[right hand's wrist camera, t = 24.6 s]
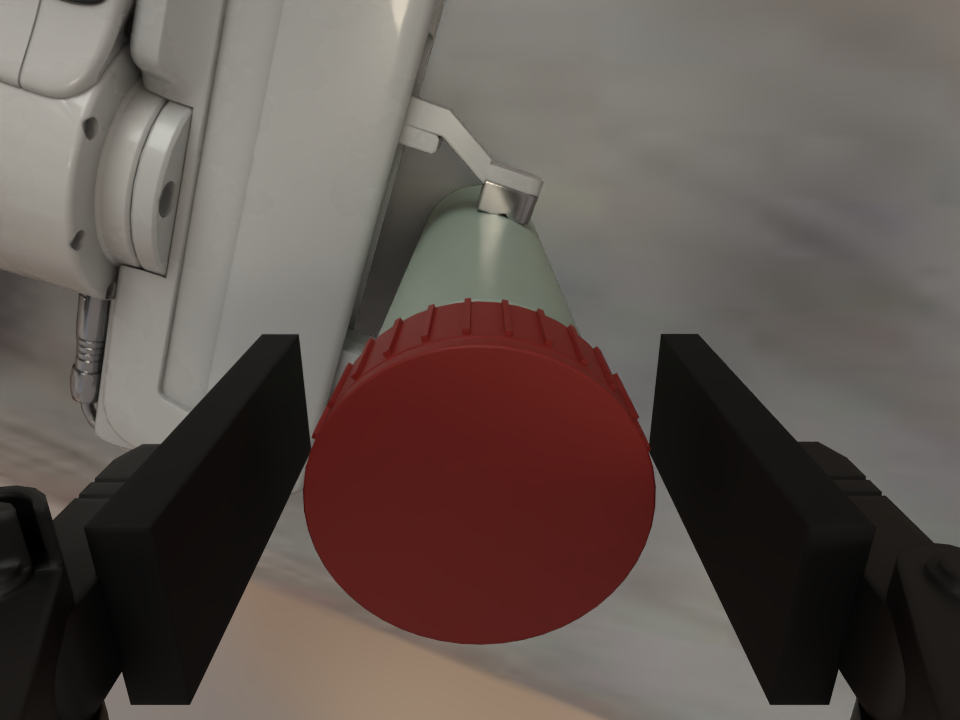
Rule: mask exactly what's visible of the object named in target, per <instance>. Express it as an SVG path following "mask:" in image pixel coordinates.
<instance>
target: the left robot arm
mask: <svg viewBox="0 0 960 720" xmlns="http://www.w3.org/2000/svg"><path fill="white" fill-rule="evenodd" d="M444 3H445V0H0V269H1V270H4V271H8V272H11V273H14V274H18V275H21V276H24V277H28V278H31V279H35V280H39V281H42V282H45V283H48V284H52V285H55V286H58V287H62V288H65V289H68V290H71V291H75V292H78V293H79V302H78V312H77V322H76V340H77V350H76V360H75V363H74V364H73V366H72V370H71V375H70V391H71V396H72V398H73V400H75V401H76V402H79V403H81V407H82V411H83V413H84V415H85V417H86V419H87V421H88V423H89V424H90V425H91V426H92V427H93V428H94V431H95V434H96V435H97V436H98V437H99V438H101V439H102V440H104V441H106V442H108V443H110V444H113V445H116V446H119V447H123V448H127V449H130V450H133V449H134V448H136V447H138V446H140V445H142V444H161V443H162V442H163V441H164V440H165V439H166V438H167V437H168V436H169V434H170V433H171V432H172V431H173V430H174V429H175V428H176V427H177V426H178V425H179V424H180V423H181V421H182V420H183V419H184V418H185V417H186V416H187V415H188V414H189V413H190V412H191V411H192V410H193V408H194V407H195V406H196V405H197V404H198V403H199V402H200V401H201V400H202V399H203V398H204V397H205V395H206V394H207V393H208V392H209V391H210V390H211V389H212V388H213V387H214V386H215V385H216V384H217V382H218V381H219V380H220V379H221V378H222V377H223V376H224V375H225V374H226V373H227V372H228V371H229V369H230V368H231V367H232V366H233V365H234V364H235V363H236V362H237V361H238V360H239V359H240V358H241V356H242V355H243V354H244V353H245V352H246V351H247V350H248V349H249V348H250V347H251V346H252V345H253V343H254V342H255V341H256V340H257V339H258V338H259V337H260V336H261V335H262V334H299V340H300V349H301V358H302V367H303V377H304V386H305V395H306V404H307V414H308V423H309V432H310V442H311V448H312V446H313V444H314V441H315V439H313V438H311V437H312V434H313V432H314V430H315V428H316V426H317V424H318V422H319V420H320V418H321V416H322V414H323V412H324V410H325V408H326V406H327V404H328V402H329V400H330V398H331V396H332V394H333V392H334V390H335V388H336V386H337V384H338V382H339V380H340V378H341V376H342V374H343V372H344V369H345V367H346V366H347V364H348V363H351V364H352V365H353V364H354V362H355V361H356V359H357V358H358V357H359V356H360V355H361V353H362V351H363V349H364V347H365V345H366V343H367V341H368V340H369V339H370V338H371V337H372V338H373V339H374V340H375V339H377V337H374V336H370V335H367V334H364V333H361V332H358V331H355V330H354V328H355V324H356V320H357V317H358V313H359V310H360V306H361V302H362V299H363V295H364V292H365V288H366V284H367V281H368V277H369V274H370V270H371V266H372V263H373V259H374V256H375V252H376V248H377V245H378V241H379V237H380V234H381V230H382V227H383V223H384V219H385V216H386V212H387V209H388V205H389V201H390V198H391V194H392V191H393V187H394V183H395V180H396V176H397V173H398V169H399V165H400V162H401V158H402V155H403V151H404V147H405V145H406V146H409V147H412V148H415V149H418V150H421V151H424V152H427V153H430V154H433V153H434V152H436V151H437V150H438V149H439V147H440V145H441V141H442V138H444V140H445V141H446V142H447V143H448V144H449V145H450V146H451V148H452V149H453V150H454V151H455V152H456V153H457V154H458V155H459V157H460V158H461V159H462V160H463V161H464V162H465V163H466V165H467V166H468V167H469V168H470V169H471V170H472V171H473V172H474V174H475V175H476V176H477V177H478V178H479V179H480V180H481V182H482V183H483V184H482V188H481V191H480V194H479V197H478V201H477V204H478V205H477V209H478V210H481V211H484V212H487V213H490V214H494V215H501V214H504V213H505V214H506V216H507V217H508V218H509V219H510V220H512V221H514V222H517V223H520V224H524V225H528V223H529V220H530V218H531V215H532V213H533V210H534V207H535V205H536V202H537V199H538V196H539V193H540V191H541V188H542V185H543V183H544V181H543V180H542V179H541V178H540V177H538V176H535V175H533V174H531V173H528V172H525V171H523V170H520V169H517V168H514V167H511V166H508V165H505V164H502V163H500V162H497V161H494V160H492V157H491V155H490V153H489V152H488V151H487V150H486V149H485V148H484V146H483V145H482V144H481V143H480V142H479V141H478V139H477V138H476V137H475V136H474V135H473V133H472V132H471V131H470V130H469V129H468V128H467V126H466V125H465V124H464V123H463V122H462V121H461V119H460V118H459V117H458V116H457V115H456V113H455V112H454V111H453V110H452V109H450V108H447V107H445V106H442V105H439V104H436V103H433V102H431V101H428V100H425V99H422V98H419V93H420V90H421V86H422V82H423V79H424V75H425V72H426V68H427V64H428V61H429V57H430V54H431V50H432V46H433V43H434V39H435V36H436V32H437V28H438V25H439V21H440V18H441V14H442V10H443V7H444ZM96 402H98V404H97V412H96V410H95V407H94V403H96ZM308 458H309V457H308ZM307 462H308V459H307V461H306V463H305V465H304V467H303V469H302V471H301V473H300V476H299V478H298V480H297V482H296V484H295V486H294V488H293V490H292V492H291V494H294V493H297V492H299V491H301V490H302V489H303V486H304V476H305V467H306V464H307ZM291 494H290V495H291Z"/></svg>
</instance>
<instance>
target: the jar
mask: <svg viewBox="0 0 960 720" xmlns="http://www.w3.org/2000/svg"><path fill="white" fill-rule="evenodd" d="M481 188H482V185H474V186H468V187H464V188H461V189H458V190H456V191H454V192H452V193H450V194H449V195H447V196H446V197H445V198H443V199H442V200H441V201H440V202H439V203H438V204H437V205H436V206H435V208H434V209H433V211H432V212H431V214H430V216H429V218H428V220H427V223H426V225H425V227H424V230H423V232H422V234H421V237H420V239H419V241H418V244H417V246H416V248H415V251H414V253H413V255H412V258H411V260H410V262H409V265H408V267H407V269H406V272H405V274H404V276H403V279H402V281H401V283H400V286H399V288H398V290H397V293H396V295H395V297H394V300H393V302H392V304H391V307H390V309H389V311H388V314H387V316H386V318H385V321H384V323H383V325H382V328H381V330H380V332H379V335H378V337H379V336H380V335H381V334H382V333H384V332H385V331H387V330H388V329H390V328H391V327H393V325H394V322H395V320H396V319H398V318H401V319H402V320H405V319H407V318H409V317H411V316H413V315H415V314H417V313H420V312H423V311H426V310H427V309H428V306H429V305H432V304H435V307H439V306H444V305H449V304H453V303H462V302H464V301H465V298H471V302H475V301H481V302H499V303H501V302H502V299H504V300H508V302H509V304H510V305H516V306H520V307H524V308H527V309H530V310H533V311H537V309H538V308H539V309H542V310H544V313H545V315H546V316H548V317H550V318H552V319H554V320H557V321H558V322H560V323H561V324H563V325H565V326H566V327H568V326H569V325H570V324H571V325H572V326H574V327H575V329H576V331H577V333H578V335H579V336H580V337H581V335H580V333H579V331H578V328H577V326H576V324H575V321H574V319H573V317H572V314H571V312H570V309H569V307H568V305H567V302H566V300H565V298H564V295H563V293H562V291H561V288H560V286H559V284H558V281H557V279H556V276H555V274H554V272H553V269H552V267H551V265H550V262H549V260H548V258H547V255H546V253H545V251H544V248H543V246H542V244H541V241H540V239H539V236H538V234H537V232H536V229H535V227H534V225H533V222H532V220H531V218H530V220H529V223H528V225H524V224H520V223H517V222H514V221H512V220H510V219H509V218H508V217H507V216H506V214H505V213H504V214H501V215H494V214H490V213H487V212H484V211H481V210H478V209H477V205H478V204H477V201H478V197H479V194H480V191H481ZM378 337H377V338H378Z"/></svg>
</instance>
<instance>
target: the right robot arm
mask: <svg viewBox="0 0 960 720" xmlns="http://www.w3.org/2000/svg"><path fill="white" fill-rule="evenodd" d="M649 445H650V449H651V451H649V453H650V455H651V457H652V459H653V461H654V463H655V465H656V467H657V469H658V471H659V473H660V476H661V478H662V480H663V482H664V484H665V486H666V488H667V490H668V492H669V494H670V496H671V499H672V501H673V503H674V505H675V507H676V509H677V511H678V513H679V515H680V517H681V519H682V522H683V524H684V526H685V528H686V530H687V532H688V534H689V536H690V538H691V540H692V542H693V545H694V547H695V549H696V551H697V553H698V555H699V557H700V559H701V561H702V563H703V565H704V568H705V570H706V572H707V574H708V576H709V578H710V580H711V582H712V584H713V586H714V588H715V591H716V593H717V595H718V597H719V599H720V601H721V603H722V605H723V607H724V609H725V611H726V614H727V616H728V618H729V620H730V622H731V624H732V626H733V628H734V630H735V632H736V634H737V637H738V639H739V641H740V643H741V645H742V647H743V649H744V651H745V653H746V655H747V657H748V660H749V662H750V664H751V666H752V668H753V670H754V672H755V674H756V676H757V678H758V680H759V683H760V685H761V687H762V689H763V691H764V693H765V695H766V697H767V699H768V701H769V704H770V705H829V703H830V700H831V696H832V692H833V688H834V685H835V681H836V677H837V673H838V670H840V672H841V673H842V675H843V676H844V678H845V680H846V681H847V683H848V684H849V686H850V688H851V689H852V691H853V692H854V694H855V696H856V697H857V698H856V702H855V705H854V709H853V712H852V716H851V719H850V720H960V548H959V547H955V546H952V545H947V544H937V543H933V542H932V541H931V540H930V539H929V538H928V537H927V536H926V535H925V534H924V533H923V532H922V531H921V530H920V529H919V528H918V527H917V526H916V525H915V524H914V523H913V522H912V521H911V520H910V519H909V518H908V517H907V516H906V515H905V514H904V513H903V512H902V511H901V510H900V509H899V508H898V507H897V506H895V505H894V504H893V503H892V502H891V501H890V500H889V499H888V498H887V497H886V496H882V494H881V493H882V492H881V491H880V490H879V489H878V488H877V487H876V486H875V485H874V484H873V483H872V482H871V481H870V480H866V476H865V475H864V474H863V473H862V472H861V471H860V470H859V469H858V468H857V467H856V466H855V465H854V464H853V463H852V462H851V461H850V460H849V459H848V458H846V457H845V456H843V455H841V454H839V453H837V452H836V451H834V450H832V449H830V448H828V447H827V446H825V445H823V444H821V443H819V442H797V441H796V440H795V439H794V438H793V437H792V436H791V434H790V433H789V432H788V431H787V430H786V429H785V428H784V427H783V426H782V425H781V424H780V423H779V421H778V420H777V419H776V418H775V417H774V416H773V415H772V414H771V413H770V412H769V411H768V410H767V408H766V407H765V406H764V405H763V404H762V403H761V402H760V401H759V400H758V399H757V398H756V397H755V395H754V394H753V393H752V392H751V391H750V390H749V389H748V388H747V387H746V386H745V385H744V384H743V382H742V381H741V380H740V379H739V378H738V377H737V376H736V375H735V374H734V373H733V372H732V371H731V369H730V368H729V367H728V366H727V365H726V364H725V363H724V362H723V361H722V360H721V359H720V358H719V356H718V355H717V354H716V353H715V352H714V351H713V350H712V349H711V348H710V347H709V346H708V345H707V343H706V342H705V341H704V340H703V339H702V338H701V337H700V336H699V335H698V334H661V339H660V349H659V358H658V367H657V377H656V386H655V395H654V404H653V414H652V423H651V432H650V442H649ZM310 451H311V442H310V432H309V423H308V414H307V404H306V395H305V386H304V377H303V367H302V358H301V349H300V340H299V334H262V335H261V336H260V337H259V338H258V339H257V340H256V341H255V342H254V343H253V345H252V346H251V347H250V348H249V349H248V350H247V351H246V352H245V353H244V354H243V355H242V356H241V358H240V359H239V360H238V361H237V362H236V363H235V364H234V365H233V366H232V367H231V368H230V369H229V371H228V372H227V373H226V374H225V375H224V376H223V377H222V378H221V379H220V380H219V381H218V382H217V384H216V385H215V386H214V387H213V388H212V389H211V390H210V391H209V392H208V393H207V394H206V395H205V397H204V398H203V399H202V400H201V401H200V402H199V403H198V404H197V405H196V406H195V407H194V408H193V410H192V411H191V412H190V413H189V414H188V415H187V416H186V417H185V418H184V419H183V420H182V421H181V423H180V424H179V425H178V426H177V427H176V428H175V429H174V430H173V431H172V432H171V433H170V434H169V436H168V437H167V438H166V439H165V440H164V441H163V442H162V443H161V444H142V445H140V446H138V447H136V448H134V449H133V450H131V451H129V452H127V453H125V454H124V455H122V456H120V457H118V458H116V459H115V460H113V461H112V462H111V463H110V464H109V465H108V466H107V467H106V468H105V469H104V470H103V471H102V472H101V473H100V474H99V475H98V476H97V477H96V478H95V482H91V483H90V484H89V485H88V486H87V487H86V488H85V489H84V490H83V491H82V492H81V493H80V494H79V498H75V499H74V500H73V501H72V502H71V503H70V504H69V505H68V506H67V507H66V508H65V509H64V510H63V511H62V512H61V513H60V514H59V515H58V516H57V517H56V518H55V519H54V520H52V517H51V513H50V510H49V506H48V503H47V499H46V496H45V494H43V493H42V492H40V491H39V490H37V489H36V488H31V487H24V486H6V487H0V720H109V718H108V712H107V709H106V705H105V702H104V699H105V698H106V696H107V694H108V693H109V691H110V690H111V688H112V686H113V685H114V683H115V682H116V680H117V678H118V677H119V675H120V674H121V672H122V673H123V677H124V681H125V685H126V688H127V692H128V696H129V699H130V703H131V705H190V703H191V701H192V699H193V697H194V695H195V693H196V691H197V689H198V687H199V685H200V683H201V680H202V678H203V676H204V674H205V672H206V670H207V668H208V666H209V664H210V662H211V660H212V657H213V655H214V653H215V651H216V649H217V647H218V645H219V643H220V641H221V639H222V637H223V634H224V632H225V630H226V628H227V626H228V624H229V622H230V620H231V618H232V616H233V614H234V611H235V609H236V607H237V605H238V603H239V601H240V599H241V597H242V595H243V593H244V591H245V588H246V586H247V584H248V582H249V580H250V578H251V576H252V574H253V572H254V570H255V568H256V565H257V563H258V561H259V559H260V557H261V555H262V553H263V551H264V549H265V547H266V545H267V542H268V540H269V538H270V536H271V534H272V532H273V530H274V528H275V526H276V524H277V522H278V519H279V517H280V515H281V513H282V511H283V509H284V507H285V505H286V503H287V501H288V499H289V496H290V494H291V492H292V490H293V488H294V486H295V484H296V482H297V480H298V478H299V476H300V473H301V471H302V469H303V467H304V465H305V463H306V461H307V459H308V457H309V454H310Z"/></svg>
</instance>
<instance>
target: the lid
mask: <svg viewBox="0 0 960 720" xmlns="http://www.w3.org/2000/svg"><path fill="white" fill-rule="evenodd" d="M638 418H639V416H638V414H637V412H636V410H635V408H634V406H633V404H632V402H631V400H630V398H629V396H628V394H627V392H626V390H625V388H624V386H623V384H622V382H621V380H620V378H619V376H618V374H617V373H616V374H614V375H612V373H611V371H610V369H609V367H608V365H607V363H606V361H605V358H604V356H603V354H602V352H601V350H600V349H599V348H598V347H595V348H594V349H593V348H592V347H591V346H590V345H589V344H588V343H587V342H586V341H585V340H583V339H582V338H581V337H580V336H579V335H578V333H577V331H576V329H575V327H574V326H572V325H571V324H570V325H569V326H568V327H566V326H565V325H563V324H561V323H560V322H558V321H557V320H554V319H552V318H550V317H548V316H546V315H545V313H544V310H542V309H539V308H538V309H537V311H533V310H530V309H527V308H524V307H520V306H516V305H510V304H509V302H508V300H504V299H502V302H501V303H499V302H481V301H475V302H471V298H465V301H464V302H462V303H453V304H449V305H444V306H439V307H435V304H432V305H429V306H428V309H427V310H426V311H423V312H420V313H417V314H415V315H413V316H411V317H409V318H407V319H405V320H402V319H401V318H398V319H396V320H395V322H394V325H393V327H391V328H390V329H388V330H387V331H385V332H384V333H382V334H381V335H380V336H379V337H378V338H377V339H375V340H374V339H373V338H372V337H371V338H370V339H369V340H368V341H367V343H366V345H365V347H364V349H363V351H362V353H361V355H360V356H359V357H358V358H357V359H356V361H355V362H354V364H353V365H352V364H351V363H348V364H347V366H346V367H345V369H344V372H343V374H342V376H341V378H340V380H339V382H338V384H337V386H336V388H335V390H334V392H333V394H332V396H331V398H330V400H329V402H328V404H327V406H326V408H325V410H324V412H323V414H322V416H321V418H320V420H319V422H318V424H317V426H316V428H315V430H314V432H313V434H312V437H311V438H313V439H315V441H314V444H313V446H312V448H311V451H310V454H309V458H308V462H307V464H306V467H305V476H304V486H303V500H304V513H305V517H306V522H307V527H308V531H309V534H310V536H311V539H312V542H313V544H314V547H315V550H316V551H317V553H318V555H319V557H320V559H321V561H322V562H323V564H324V566H325V567H326V569H327V570H328V572H329V573H330V574H331V576H332V577H333V578H334V580H335V581H336V582H337V583H338V584H339V585H340V587H341V588H342V589H343V590H344V591H345V592H346V593H347V594H348V595H349V596H350V597H351V598H353V599H354V600H355V601H356V602H357V603H359V604H360V605H361V606H362V607H364V608H365V609H366V610H368V611H369V612H371V613H372V614H374V615H376V616H377V617H379V618H380V619H382V620H384V621H386V622H388V623H390V624H392V625H394V626H396V627H398V628H400V629H403V630H405V631H408V632H411V633H414V634H416V635H419V636H423V637H427V638H431V639H435V640H439V641H445V642H452V643H459V644H481V645H482V644H499V643H507V642H513V641H519V640H524V639H528V638H532V637H535V636H539V635H543V634H545V633H548V632H551V631H553V630H556V629H558V628H561V627H563V626H565V625H567V624H569V623H571V622H573V621H575V620H577V619H579V618H580V617H582V616H583V615H585V614H586V613H588V612H589V611H591V610H592V609H594V608H595V607H597V606H598V605H599V604H600V603H601V602H603V601H604V600H605V599H606V598H607V597H608V596H610V595H611V594H612V593H613V592H614V591H615V590H616V588H617V587H618V586H619V585H620V584H621V583H622V582H623V581H624V580H625V578H626V577H627V576H628V574H629V573H630V571H631V570H632V568H633V567H634V565H635V564H636V563H637V561H638V559H639V557H640V555H641V553H642V551H643V549H644V547H645V544H646V541H647V539H648V536H649V533H650V530H651V527H652V522H653V516H654V510H655V492H656V486H655V478H654V471H653V465H652V462H651V459H650V455H649V452H648V451H651V449H650V445H649V443H648V441H647V439H646V437H645V435H644V433H643V431H642V429H641V427H640V425H639V422H638V420H637V419H638Z"/></svg>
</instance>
